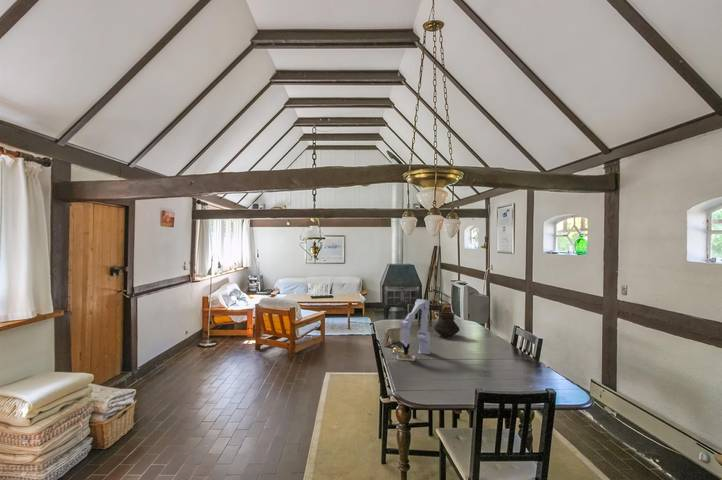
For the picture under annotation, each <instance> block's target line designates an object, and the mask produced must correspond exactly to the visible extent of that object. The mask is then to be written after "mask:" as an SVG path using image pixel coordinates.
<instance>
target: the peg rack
mask: <svg viewBox="0 0 722 480" xmlns="http://www.w3.org/2000/svg"><path fill="white" fill-rule="evenodd" d="M396 360H397V361H413V362H414V361H416V355H412V357H411V355H410V357H406V355H404V357H398V354H396Z"/></svg>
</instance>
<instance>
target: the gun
mask: <svg viewBox="0 0 722 480" xmlns="http://www.w3.org/2000/svg"><path fill="white" fill-rule="evenodd" d="M401 331H402V327H401V326H396V327H388V328H385V330H384V331H383V334H384V336H383V341H382V343H383V347H386V348H387V347H388V346H390V344H393V343H394V344H395V343H399V342H400V343H401V338H400V337H401V336H400V333H401ZM389 339H390V341H389Z"/></svg>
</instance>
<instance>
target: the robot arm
mask: <svg viewBox="0 0 722 480" xmlns="http://www.w3.org/2000/svg"><path fill="white" fill-rule="evenodd" d="M419 310H421V319H420V329H419V330H417V335H416V339H417V341H418V355H419V354H420V355H431V352H432V351H431V342H430V341H431V334H430V331H428V322H429V310H430V301H429V300H428V299H421V298H417V299H416V300H415V302H414V306H413V308H412V310H411V312H409V313H408V314H407V316H406V317H405V319H404V320H402V321H401V323H400V327H401V331H402V335H401V336H402V340H400V343H402V344H401V345H402V348H403V349H402V350H403V351H404V354H408V351H409V348H410V347H411V335H410V334H411V328H412V324H413V322H414V320H415V318H416V316H415V315H417V313H418V312H419Z"/></svg>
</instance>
